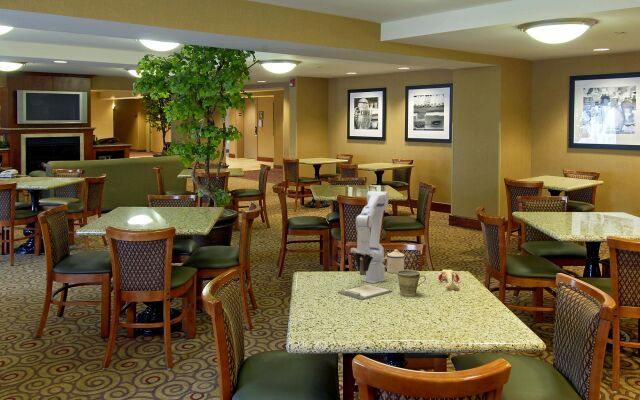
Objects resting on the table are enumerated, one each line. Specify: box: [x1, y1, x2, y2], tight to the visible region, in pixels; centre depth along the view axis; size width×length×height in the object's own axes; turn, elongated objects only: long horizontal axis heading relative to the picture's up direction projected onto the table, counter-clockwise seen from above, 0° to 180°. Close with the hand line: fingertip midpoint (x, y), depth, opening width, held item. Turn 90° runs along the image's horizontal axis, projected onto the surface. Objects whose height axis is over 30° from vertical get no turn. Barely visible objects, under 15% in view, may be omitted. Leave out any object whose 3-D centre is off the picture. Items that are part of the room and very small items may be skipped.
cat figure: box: [437, 269, 460, 292], centre depth 286 cm, size 10×9×25 cm
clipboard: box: [337, 283, 393, 301], centre depth 270 cm, size 20×15×2 cm
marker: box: [359, 257, 366, 276], centre depth 274 cm, size 3×3×8 cm
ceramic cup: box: [396, 269, 427, 297], centre depth 267 cm, size 13×10×10 cm
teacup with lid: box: [382, 249, 406, 275], centre depth 310 cm, size 12×9×12 cm
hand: (363, 270), depth 274 cm, fingers closed on marker, 3 cm apart
